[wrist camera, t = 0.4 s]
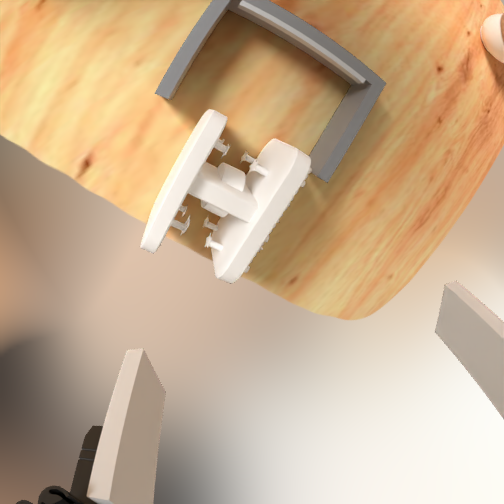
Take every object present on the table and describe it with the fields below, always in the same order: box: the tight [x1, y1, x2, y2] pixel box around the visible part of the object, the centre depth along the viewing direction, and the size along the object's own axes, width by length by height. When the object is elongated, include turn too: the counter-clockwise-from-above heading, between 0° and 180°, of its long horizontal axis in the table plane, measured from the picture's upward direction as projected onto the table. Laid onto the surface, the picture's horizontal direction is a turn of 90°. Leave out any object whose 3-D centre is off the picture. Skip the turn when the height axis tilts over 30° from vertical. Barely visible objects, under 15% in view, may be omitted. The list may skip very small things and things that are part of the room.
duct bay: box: [155, 0, 386, 183], centre depth 29 cm, size 14×21×5 cm
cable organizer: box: [141, 109, 312, 284], centre depth 30 cm, size 15×11×12 cm
